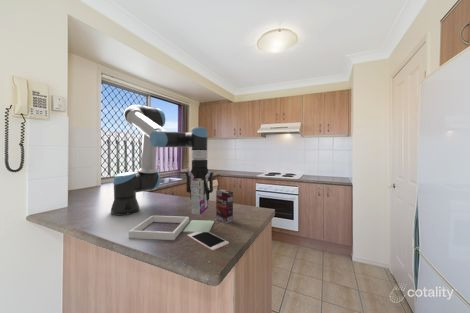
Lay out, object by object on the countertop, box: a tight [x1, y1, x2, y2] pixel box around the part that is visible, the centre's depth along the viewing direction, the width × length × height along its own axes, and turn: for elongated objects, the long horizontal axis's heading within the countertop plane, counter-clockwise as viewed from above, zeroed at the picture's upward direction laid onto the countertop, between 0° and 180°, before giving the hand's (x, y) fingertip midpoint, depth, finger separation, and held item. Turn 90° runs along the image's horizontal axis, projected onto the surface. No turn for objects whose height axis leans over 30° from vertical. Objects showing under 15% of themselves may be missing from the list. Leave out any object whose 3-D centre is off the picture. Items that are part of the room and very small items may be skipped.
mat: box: [182, 219, 215, 234], centre depth 97 cm, size 12×14×1 cm
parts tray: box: [128, 215, 190, 241], centre depth 94 cm, size 20×20×3 cm
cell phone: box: [186, 232, 230, 252], centre depth 84 cm, size 9×18×1 cm, turn 45°
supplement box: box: [215, 189, 234, 224], centre depth 106 cm, size 9×5×16 cm, turn 47°
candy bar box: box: [190, 176, 209, 216], centre depth 97 cm, size 11×5×16 cm, turn 169°
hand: (199, 206), depth 97 cm, fingers closed on candy bar box, 5 cm apart
